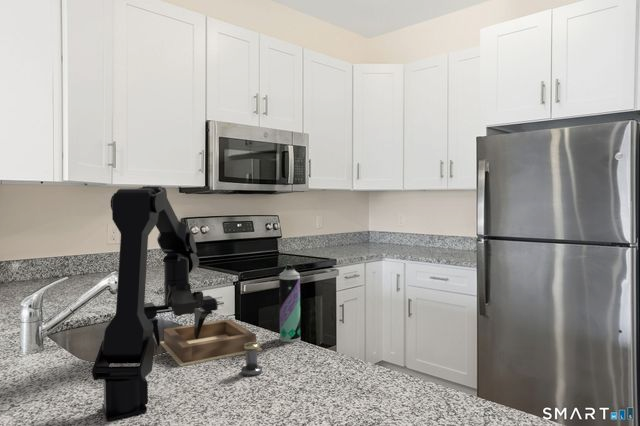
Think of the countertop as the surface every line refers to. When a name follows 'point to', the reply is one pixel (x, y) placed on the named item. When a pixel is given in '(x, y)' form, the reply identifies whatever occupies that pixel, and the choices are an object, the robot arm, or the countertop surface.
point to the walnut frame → (211, 348)
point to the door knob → (251, 360)
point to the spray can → (289, 304)
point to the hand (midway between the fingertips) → (177, 342)
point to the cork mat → (201, 359)
